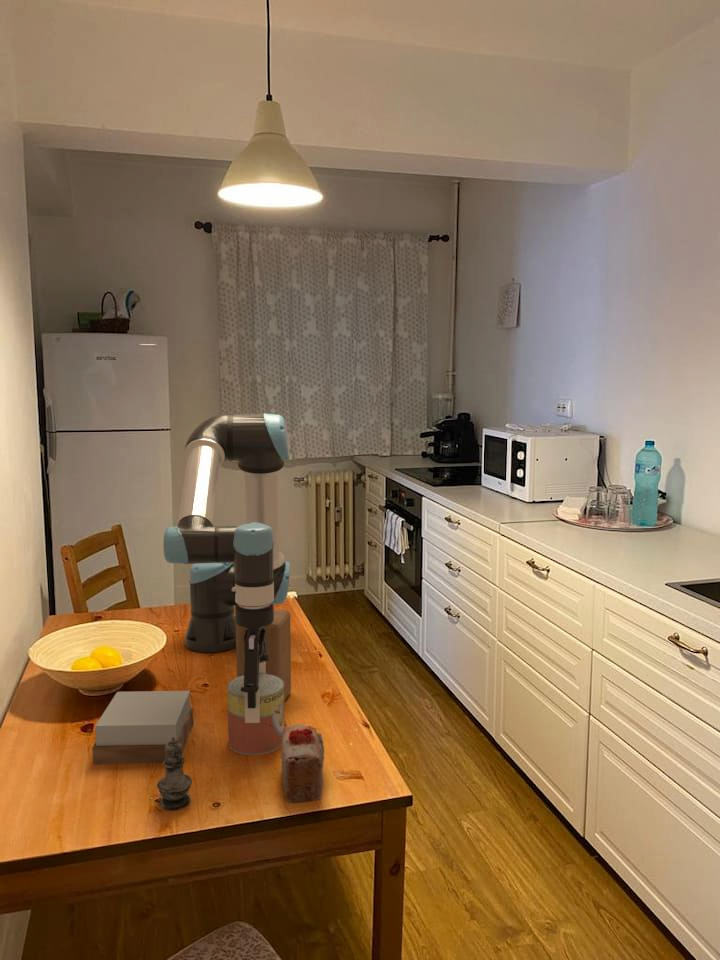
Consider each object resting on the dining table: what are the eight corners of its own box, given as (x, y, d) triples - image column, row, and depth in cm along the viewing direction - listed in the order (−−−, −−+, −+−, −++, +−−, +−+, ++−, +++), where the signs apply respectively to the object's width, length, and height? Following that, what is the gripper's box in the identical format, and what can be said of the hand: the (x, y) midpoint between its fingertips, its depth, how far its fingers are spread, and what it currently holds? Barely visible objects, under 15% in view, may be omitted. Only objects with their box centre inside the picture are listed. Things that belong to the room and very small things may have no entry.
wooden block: (279, 711, 163) (278, 623, 161) (235, 707, 165) (234, 620, 162) (292, 692, 173) (291, 609, 170) (251, 688, 175) (249, 606, 172)
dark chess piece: (160, 814, 125) (158, 747, 124) (155, 796, 131) (152, 732, 129) (195, 806, 128) (193, 741, 126) (189, 789, 133) (187, 726, 131)
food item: (279, 763, 142) (279, 714, 141) (321, 760, 143) (321, 712, 142) (283, 804, 129) (282, 751, 127) (329, 801, 130) (329, 747, 128)
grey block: (118, 709, 156) (117, 691, 156) (190, 708, 157) (189, 690, 156) (96, 745, 141) (95, 725, 141) (176, 744, 142) (175, 724, 142)
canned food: (275, 758, 144) (274, 699, 142) (219, 752, 146) (218, 694, 144) (291, 730, 155) (290, 675, 153) (239, 725, 157) (238, 671, 155)
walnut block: (116, 727, 157) (116, 709, 157) (193, 725, 158) (193, 707, 157) (93, 767, 141) (92, 747, 141) (178, 765, 142) (177, 745, 142)
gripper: (242, 586, 158) (244, 681, 161) (226, 624, 134) (228, 736, 137) (278, 585, 159) (279, 681, 162) (268, 624, 134) (269, 735, 137)
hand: (255, 706), depth 149 cm, fingers open, 13 cm apart
